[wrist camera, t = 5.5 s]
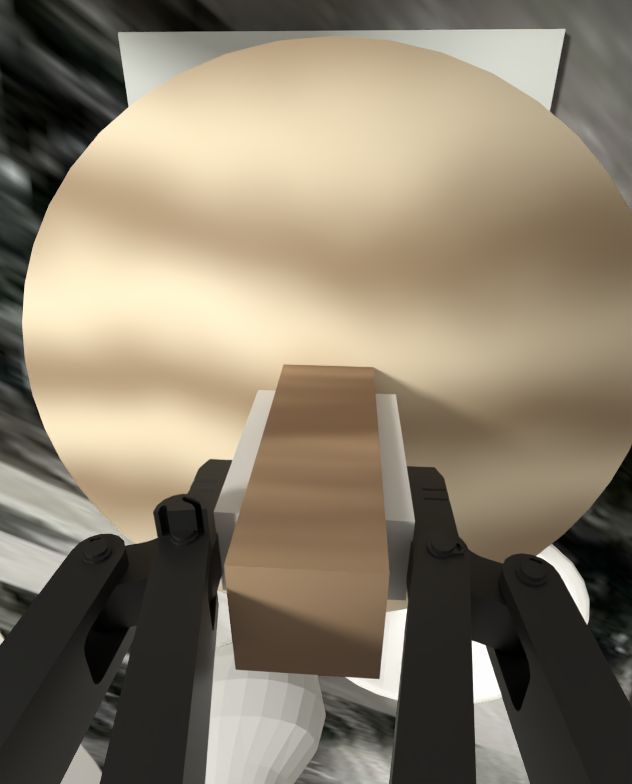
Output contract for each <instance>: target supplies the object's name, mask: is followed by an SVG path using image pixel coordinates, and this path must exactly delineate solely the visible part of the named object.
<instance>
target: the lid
mask: <svg viewBox="0 0 632 784" xmlns="http://www.w3.org/2000/svg"><path fill="white" fill-rule="evenodd" d="M22 326H23V339H24V352H25V362H26V366H27V371H28V375H29V380H30V385H31V389H32V394H33V397H34V400H35V403H36V405H37V408H38V411H39V414H40V417H41V419H42V422H43V425H44V428H45V430H46V432H47V434H48V436H49V438H50V440H51V442H52V444H53V446H54V448H55V450H56V451H57V453H58V455H59V457H60V459H61V461H62V462H63V464H64V465H65V467H66V468H67V470H68V471H69V473H70V474H71V476H72V477H73V479H74V480H75V482H76V483H77V485H78V486H79V487H80V489H81V490H82V491H83V492H84V493H85V495H86V496H87V497H88V498H89V499H90V500H91V502H92V503H93V504H94V505H95V506H96V508H97V509H98V510H99V511H100V512H101V513H102V514H103V515H104V516H105V517H106V518H107V519H108V520H109V521H110V522H111V523H112V524H113V525H114V526H115V527H116V528H117V529H119V530H120V531H121V532H122V533H123V534H124V535H125V536H126V537H128V538H129V539H130V540H132V541H133V542H134V543H135V544H138V543H143V542H147V541H151V540H153V539H156V538H158V537H157V531H156V526H155V520H154V515H153V511H154V509H155V508H156V506H157V505H158V504H159V503H160V502H162V501H163V500H164V499H166V498H169V497H171V496H173V495H179V494H187V493H188V491H190V487H191V485H192V482H194V478H195V476H196V474H197V471H198V469H199V468H200V467H201V466H202V465H203V464H205V463H206V462H207V461H208V460H209V459H221V460H233V457H234V455H235V452H236V449H237V446H238V444H239V441H240V438H241V435H242V433H243V430H244V427H245V424H246V422H247V419H248V416H249V413H250V411H251V408H252V405H253V402H254V400H255V397H256V394H257V391H258V390H276V391H275V395H274V398H273V401H272V405H271V408H270V412H269V415H268V418H267V422H266V425H265V428H264V432H263V435H262V439H261V442H260V445H259V449H258V452H257V455H256V459H255V462H254V466H253V469H252V472H251V476H250V479H249V482H248V486H247V489H246V493H245V496H244V499H243V503H242V506H241V509H240V513H239V516H238V520H237V523H236V526H235V530H234V533H233V536H232V540H231V543H230V547H229V550H228V553H227V557H226V560H225V563H224V570H225V579H226V588H227V590H223V588H222V580H220V583H219V587H218V591H221V592H223V593H226V594H227V597H228V606H229V615H230V624H231V633H232V642H233V651H234V660H235V669H236V670H247V671H262V672H277V673H292V674H308V675H323V676H338V677H354V678H369V679H380V669H381V659H382V649H383V638H384V628H385V617H386V612H391V611H397V610H403V609H407V606H408V595H407V593H406V601H405V600H388V599H387V597H388V586H389V576H390V572H389V559H388V547H387V534H386V521H385V508H384V495H383V483H382V470H381V457H380V444H379V431H378V419H377V406H376V394H396V399H397V406H398V412H399V419H400V426H401V432H402V439H403V445H404V452H405V459H406V465H407V466H417V467H435V468H436V469H437V470H438V472H439V473H440V474H441V475H442V476H443V477H444V480H445V484H446V488H447V492H448V495H449V501H450V503H451V507H452V511H453V515H454V519H455V523H456V527H457V531H458V535H459V537H460V538H461V539H462V540H463V541H464V542H465V543H466V545H467V547H468V549H469V550H470V551H472V552H473V553H475V554H477V555H479V556H481V557H484V558H486V559H490V560H493V561H496V562H500V563H504V561H505V559H506V558H508V557H509V556H511V555H514V554H520V553H523V554H531V555H534V556H537V555H538V554H539V553H541V552H542V551H543V550H544V549H546V548H547V547H548V546H550V545H551V544H552V543H553V542H555V541H556V540H557V539H558V538H560V537H561V536H562V535H563V534H565V533H566V532H567V531H568V530H569V529H570V528H571V527H572V526H573V525H574V524H575V523H576V522H577V521H578V520H579V519H580V518H581V517H582V516H583V515H584V514H585V513H586V512H587V511H588V510H589V508H590V507H591V506H592V505H593V503H594V502H595V501H596V499H597V498H598V497H599V496H600V494H601V493H602V492H603V491H604V489H605V488H606V487H607V485H608V484H609V483H610V482H611V480H612V478H613V477H614V475H615V473H616V472H617V470H618V468H619V467H620V465H621V463H622V461H623V460H624V458H625V456H626V455H627V453H628V451H629V449H630V447H631V445H632V213H631V211H630V209H629V208H628V206H627V204H626V203H625V201H624V199H623V197H622V196H621V194H620V192H619V190H618V189H617V187H616V185H615V184H614V182H613V180H612V178H611V177H610V175H609V173H608V172H607V171H606V170H605V168H604V167H603V166H602V165H601V163H600V162H599V161H598V160H597V159H596V157H595V156H594V155H593V154H592V153H591V151H590V150H589V149H588V148H587V147H586V145H585V144H584V143H583V142H582V141H581V139H580V138H579V137H578V136H577V135H576V134H575V133H574V132H573V131H572V130H571V129H570V128H568V127H567V126H566V125H565V124H564V123H563V122H561V121H560V120H559V119H558V118H557V117H556V116H555V115H553V114H552V113H551V112H550V111H549V110H548V109H546V108H545V107H544V106H543V105H542V104H541V103H540V102H538V101H537V100H535V99H534V98H532V97H530V96H529V95H527V94H526V93H524V92H522V91H521V90H519V89H517V88H516V87H514V86H513V85H511V84H509V83H508V82H506V81H504V80H503V79H501V78H500V77H498V76H496V75H495V74H493V73H491V72H488V71H486V70H484V69H481V68H479V67H476V66H474V65H471V64H469V63H467V62H464V61H462V60H459V59H457V58H454V57H452V56H450V55H447V54H445V53H442V52H438V51H434V50H430V49H425V48H421V47H417V46H413V45H408V44H404V43H400V42H396V41H391V40H384V39H370V38H356V37H342V36H326V37H314V38H302V39H291V40H279V41H275V42H271V43H267V44H263V45H259V46H255V47H251V48H247V49H243V50H239V51H235V52H231V53H227V54H224V55H222V56H220V57H217V58H215V59H212V60H210V61H208V62H205V63H203V64H201V65H198V66H196V67H194V68H191V69H189V70H187V71H184V72H182V73H180V74H178V75H176V76H175V77H173V78H171V79H170V80H168V81H167V82H165V83H163V84H162V85H160V86H159V87H157V88H155V89H154V90H152V91H151V92H149V93H148V94H146V95H144V96H143V97H141V98H140V99H138V100H136V101H135V102H134V103H133V104H132V105H131V106H130V107H128V108H127V109H126V110H125V111H124V112H123V113H122V114H120V115H119V116H118V117H117V118H116V119H115V120H114V121H113V122H111V123H110V124H109V125H108V126H107V127H106V128H105V129H103V130H102V131H101V132H100V133H99V134H98V136H97V137H96V138H95V139H94V140H93V142H92V143H91V144H90V145H89V147H88V148H87V149H86V150H85V151H84V153H83V154H82V155H81V156H80V157H79V159H78V160H77V161H76V162H75V164H74V165H73V166H72V167H71V169H70V170H69V172H68V174H67V175H66V177H65V179H64V181H63V182H62V184H61V186H60V187H59V189H58V191H57V193H56V194H55V196H54V198H53V199H52V201H51V203H50V205H49V206H48V209H47V212H46V214H45V217H44V219H43V222H42V224H41V227H40V230H39V232H38V235H37V237H36V240H35V242H34V245H33V249H32V254H31V259H30V263H29V268H28V272H27V277H26V281H25V289H24V304H23V319H22Z"/></svg>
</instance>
